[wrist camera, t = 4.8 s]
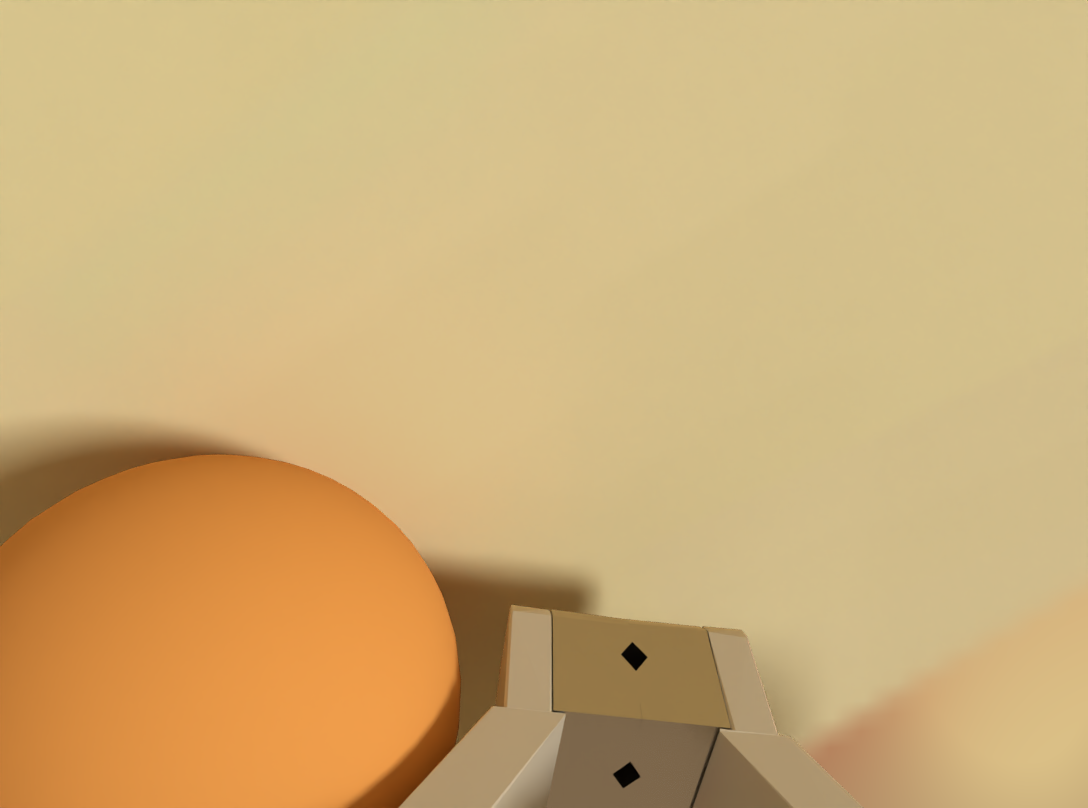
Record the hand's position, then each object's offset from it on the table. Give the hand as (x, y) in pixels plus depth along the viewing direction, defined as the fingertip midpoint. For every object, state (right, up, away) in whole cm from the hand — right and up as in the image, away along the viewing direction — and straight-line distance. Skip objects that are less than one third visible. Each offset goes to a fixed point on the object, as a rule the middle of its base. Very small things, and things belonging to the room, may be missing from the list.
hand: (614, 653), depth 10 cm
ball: (-5, 0, -1) cm, 5 cm away
